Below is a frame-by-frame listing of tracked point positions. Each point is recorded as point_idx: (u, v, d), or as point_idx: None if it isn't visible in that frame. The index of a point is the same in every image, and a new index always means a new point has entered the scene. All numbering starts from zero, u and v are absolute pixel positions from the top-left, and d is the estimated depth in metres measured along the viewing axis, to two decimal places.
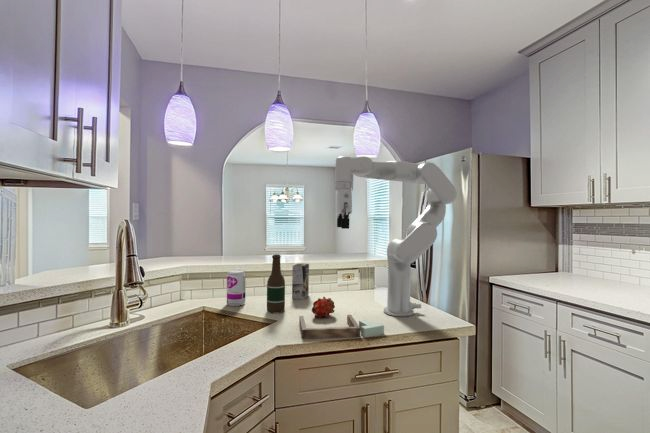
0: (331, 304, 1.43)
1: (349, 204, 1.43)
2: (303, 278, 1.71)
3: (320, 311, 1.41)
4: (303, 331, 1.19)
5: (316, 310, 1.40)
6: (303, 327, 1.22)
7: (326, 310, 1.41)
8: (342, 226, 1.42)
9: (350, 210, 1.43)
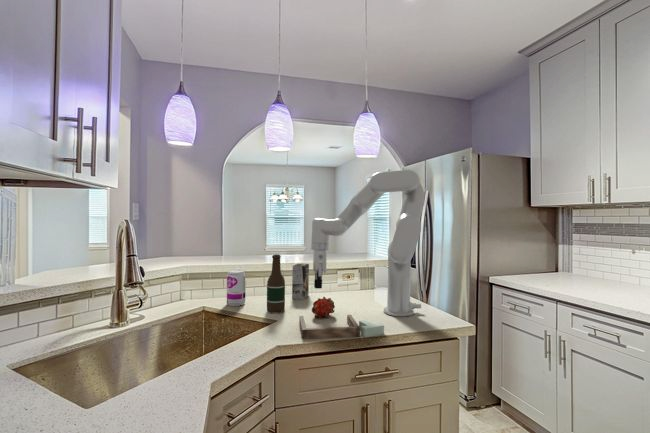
0: (331, 304, 1.43)
1: (323, 265, 1.51)
2: (303, 278, 1.71)
3: (320, 311, 1.41)
4: (303, 331, 1.19)
5: (316, 310, 1.40)
6: (303, 327, 1.22)
7: (326, 310, 1.41)
8: (315, 286, 1.55)
9: (324, 270, 1.51)
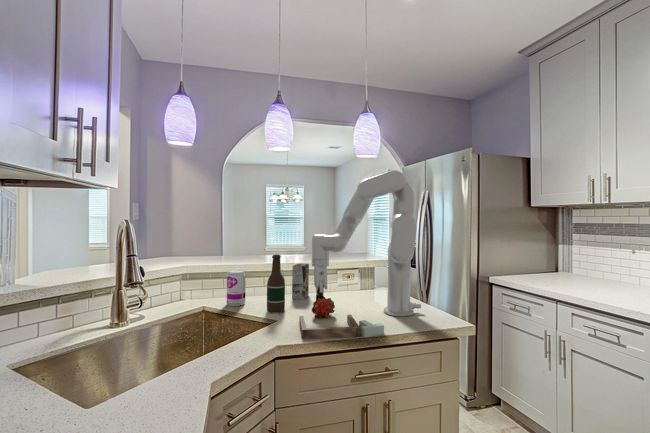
0: (331, 304, 1.43)
1: (324, 281, 1.50)
2: (303, 278, 1.71)
3: (320, 311, 1.41)
4: (303, 331, 1.19)
5: (316, 310, 1.40)
6: (303, 327, 1.22)
7: (326, 310, 1.41)
8: None
9: (325, 287, 1.50)
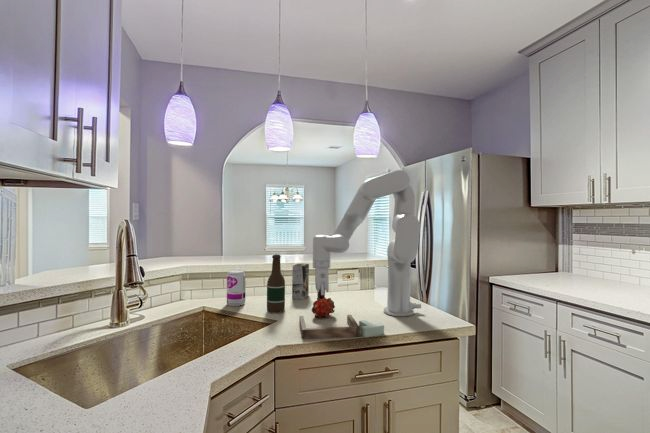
0: (331, 304, 1.43)
1: (326, 283, 1.45)
2: (303, 278, 1.71)
3: (320, 311, 1.41)
4: (303, 331, 1.19)
5: (316, 310, 1.40)
6: (303, 327, 1.22)
7: (326, 310, 1.41)
8: None
9: (327, 289, 1.46)
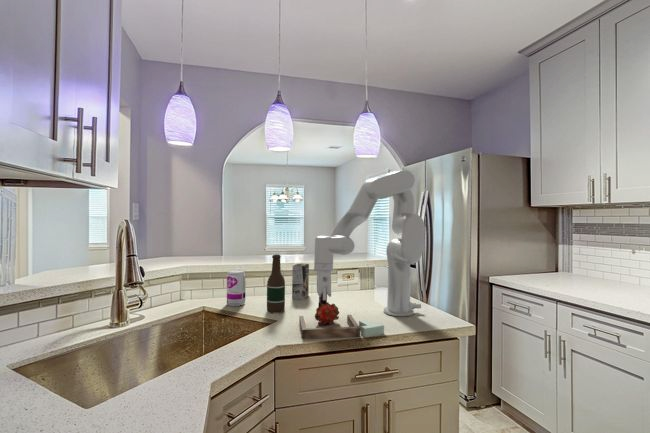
0: (335, 310, 1.34)
1: (328, 288, 1.36)
2: (303, 278, 1.71)
3: (324, 318, 1.32)
4: (303, 331, 1.19)
5: (320, 317, 1.31)
6: (303, 327, 1.22)
7: (330, 317, 1.33)
8: None
9: (329, 294, 1.36)
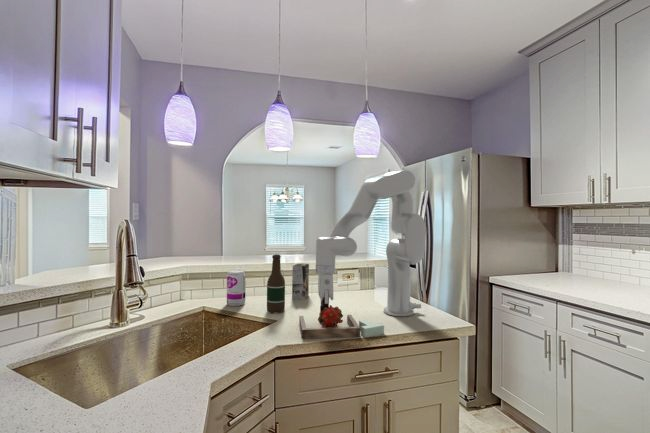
0: (339, 313, 1.30)
1: (330, 291, 1.32)
2: (303, 278, 1.71)
3: (328, 322, 1.28)
4: (303, 331, 1.19)
5: (324, 321, 1.26)
6: (303, 327, 1.22)
7: (335, 320, 1.29)
8: None
9: (331, 297, 1.32)
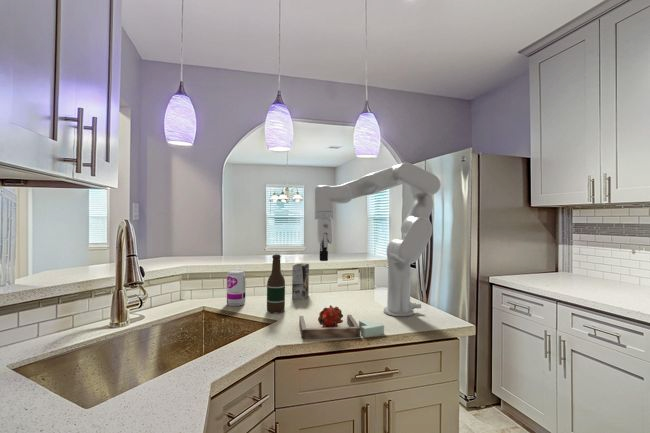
0: (339, 313, 1.30)
1: (329, 234, 1.39)
2: (303, 278, 1.71)
3: (328, 322, 1.27)
4: (303, 331, 1.19)
5: (324, 321, 1.26)
6: (303, 327, 1.22)
7: (335, 320, 1.29)
8: (321, 259, 1.43)
9: (330, 240, 1.40)
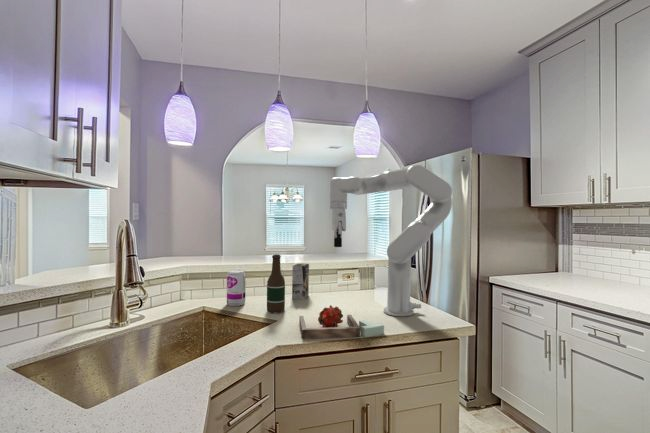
0: (339, 313, 1.30)
1: (343, 222, 1.52)
2: (303, 278, 1.71)
3: (328, 322, 1.28)
4: (303, 331, 1.19)
5: (324, 321, 1.26)
6: (303, 327, 1.22)
7: (335, 320, 1.29)
8: (335, 245, 1.56)
9: (344, 228, 1.52)
